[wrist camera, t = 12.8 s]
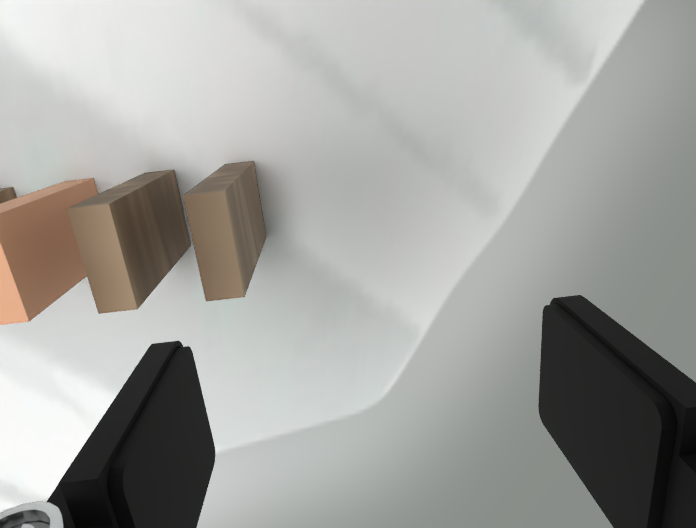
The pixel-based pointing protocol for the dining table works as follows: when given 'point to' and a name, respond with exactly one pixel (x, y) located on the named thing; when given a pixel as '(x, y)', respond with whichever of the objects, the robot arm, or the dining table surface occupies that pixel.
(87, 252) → the domino
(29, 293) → the domino
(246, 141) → the dining table surface
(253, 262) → the domino
